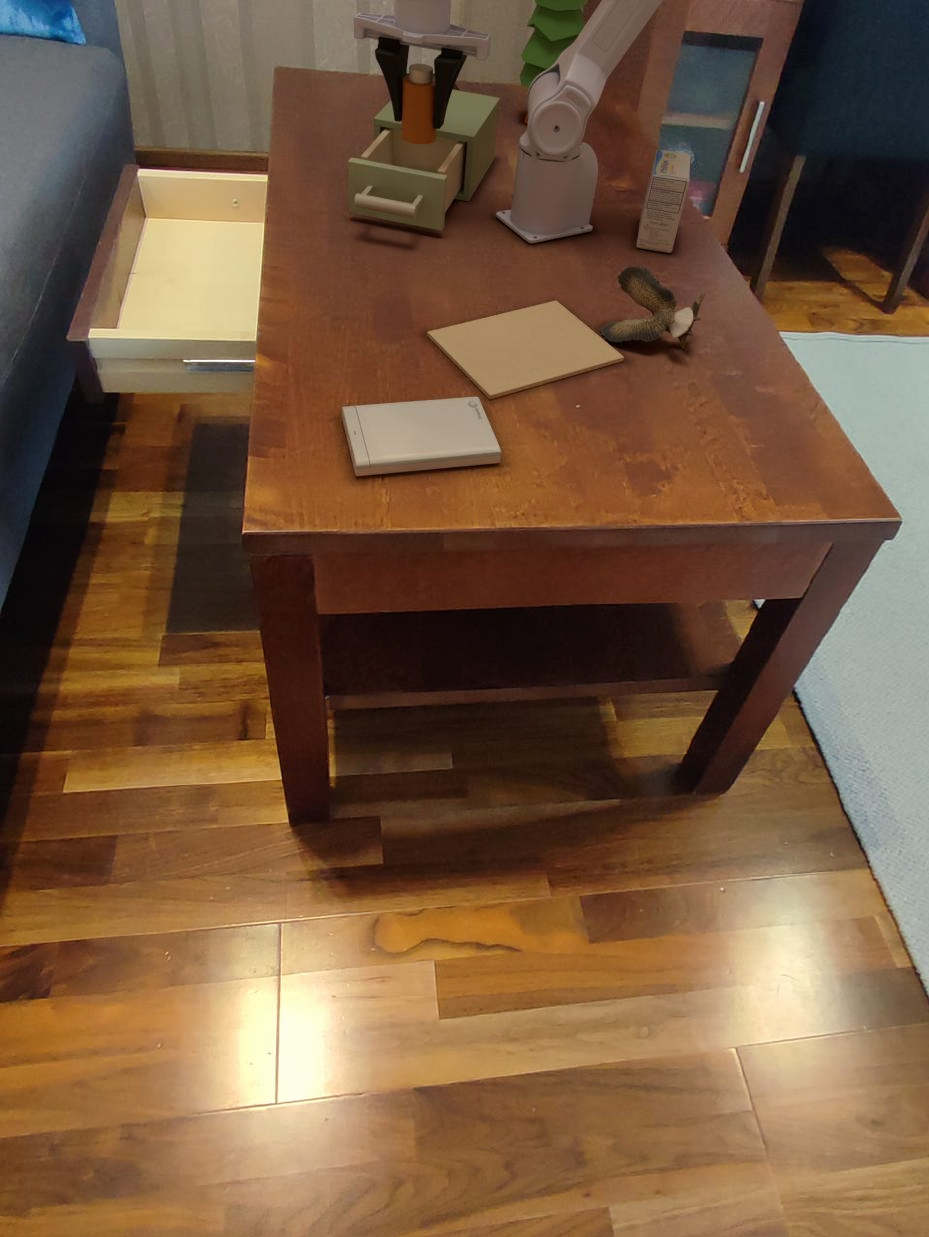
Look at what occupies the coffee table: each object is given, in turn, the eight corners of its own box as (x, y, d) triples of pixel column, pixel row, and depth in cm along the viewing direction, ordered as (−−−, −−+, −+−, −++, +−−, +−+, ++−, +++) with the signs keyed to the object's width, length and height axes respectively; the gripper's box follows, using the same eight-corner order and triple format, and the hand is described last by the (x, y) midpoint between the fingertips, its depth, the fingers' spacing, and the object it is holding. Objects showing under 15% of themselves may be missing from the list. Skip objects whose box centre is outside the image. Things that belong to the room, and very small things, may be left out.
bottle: (425, 129, 97) (428, 59, 92) (442, 142, 95) (446, 71, 90) (395, 133, 96) (396, 62, 90) (411, 146, 94) (413, 75, 88)
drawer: (431, 247, 95) (434, 194, 90) (336, 228, 96) (334, 175, 91) (469, 186, 106) (473, 137, 102) (383, 170, 107) (384, 120, 103)
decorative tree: (501, 119, 125) (529, -151, 102) (535, 104, 130) (569, -155, 108) (555, 138, 122) (596, -136, 99) (588, 123, 127) (634, -141, 104)
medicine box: (671, 255, 100) (691, 179, 94) (634, 248, 100) (652, 173, 94) (673, 227, 105) (693, 153, 99) (638, 221, 106) (655, 147, 99)
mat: (555, 304, 90) (556, 300, 90) (623, 361, 84) (624, 356, 84) (427, 335, 84) (427, 331, 84) (489, 399, 78) (490, 395, 77)
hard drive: (478, 394, 75) (341, 403, 73) (502, 450, 70) (355, 462, 68) (476, 409, 77) (341, 419, 74) (499, 465, 72) (356, 478, 69)
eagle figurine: (691, 311, 89) (612, 282, 89) (717, 278, 82) (633, 245, 82) (670, 375, 88) (591, 346, 88) (696, 347, 81) (610, 314, 81)
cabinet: (468, 201, 105) (474, 136, 100) (373, 183, 107) (373, 118, 101) (494, 159, 115) (500, 97, 109) (406, 143, 116) (408, 81, 110)
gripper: (342, -30, 82) (346, 122, 92) (484, -6, 81) (472, 146, 91) (365, -44, 87) (366, 102, 97) (500, -22, 85) (487, 124, 95)
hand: (419, 122), depth 94 cm, fingers closed on bottle, 4 cm apart
